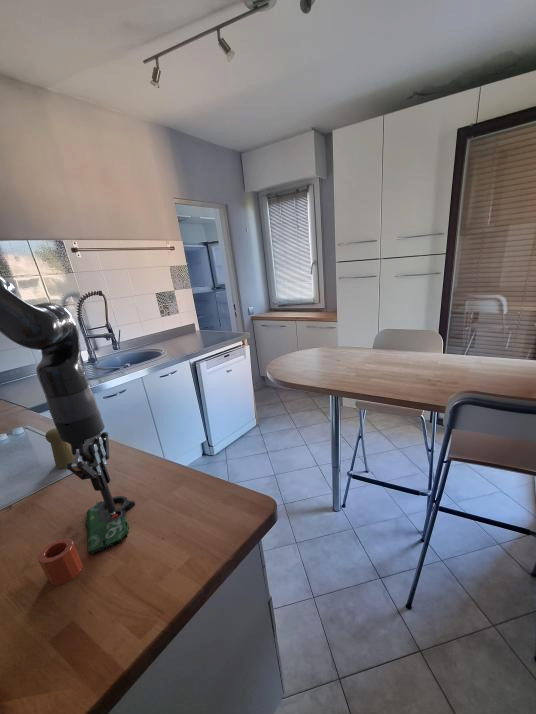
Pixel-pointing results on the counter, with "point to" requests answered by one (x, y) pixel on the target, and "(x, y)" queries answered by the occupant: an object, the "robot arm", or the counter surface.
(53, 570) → the pen cup
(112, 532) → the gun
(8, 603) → the counter surface
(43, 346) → the robot arm
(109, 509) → the dark gray rod
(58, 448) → the cork
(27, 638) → the counter surface
